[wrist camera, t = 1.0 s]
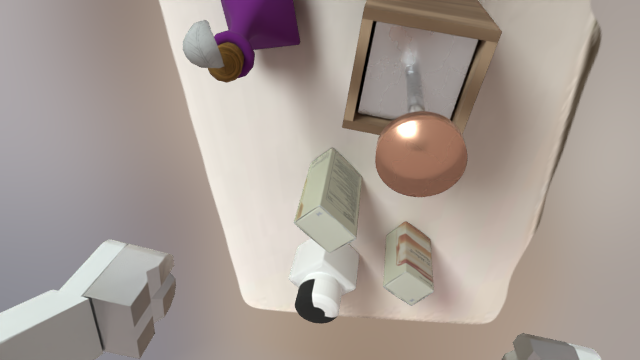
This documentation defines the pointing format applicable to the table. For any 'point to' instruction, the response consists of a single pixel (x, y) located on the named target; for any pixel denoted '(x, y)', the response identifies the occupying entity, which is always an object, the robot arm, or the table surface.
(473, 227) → the table surface
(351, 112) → the wooden box
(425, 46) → the table lamp
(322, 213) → the skincare box
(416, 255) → the skincare box
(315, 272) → the medicine bottle
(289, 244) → the table surface
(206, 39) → the perfume bottle
